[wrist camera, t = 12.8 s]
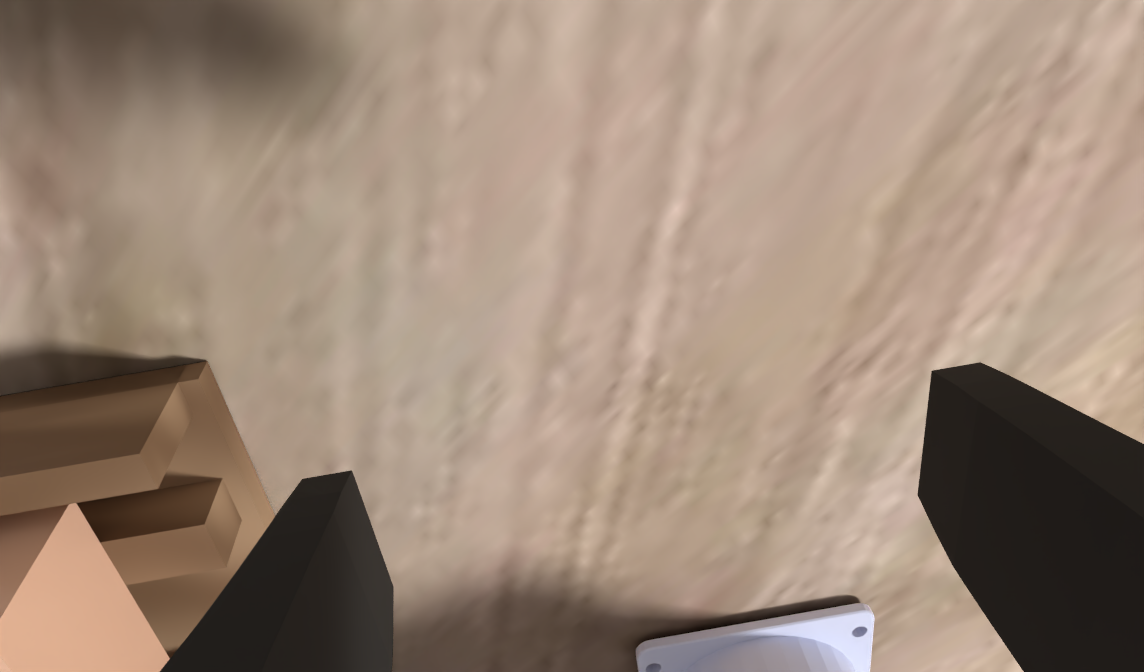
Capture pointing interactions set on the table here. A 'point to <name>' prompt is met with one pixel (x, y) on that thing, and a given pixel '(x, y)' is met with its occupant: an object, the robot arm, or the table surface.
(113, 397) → the rack
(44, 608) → the peach rectangular block
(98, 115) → the table surface
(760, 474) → the table surface
